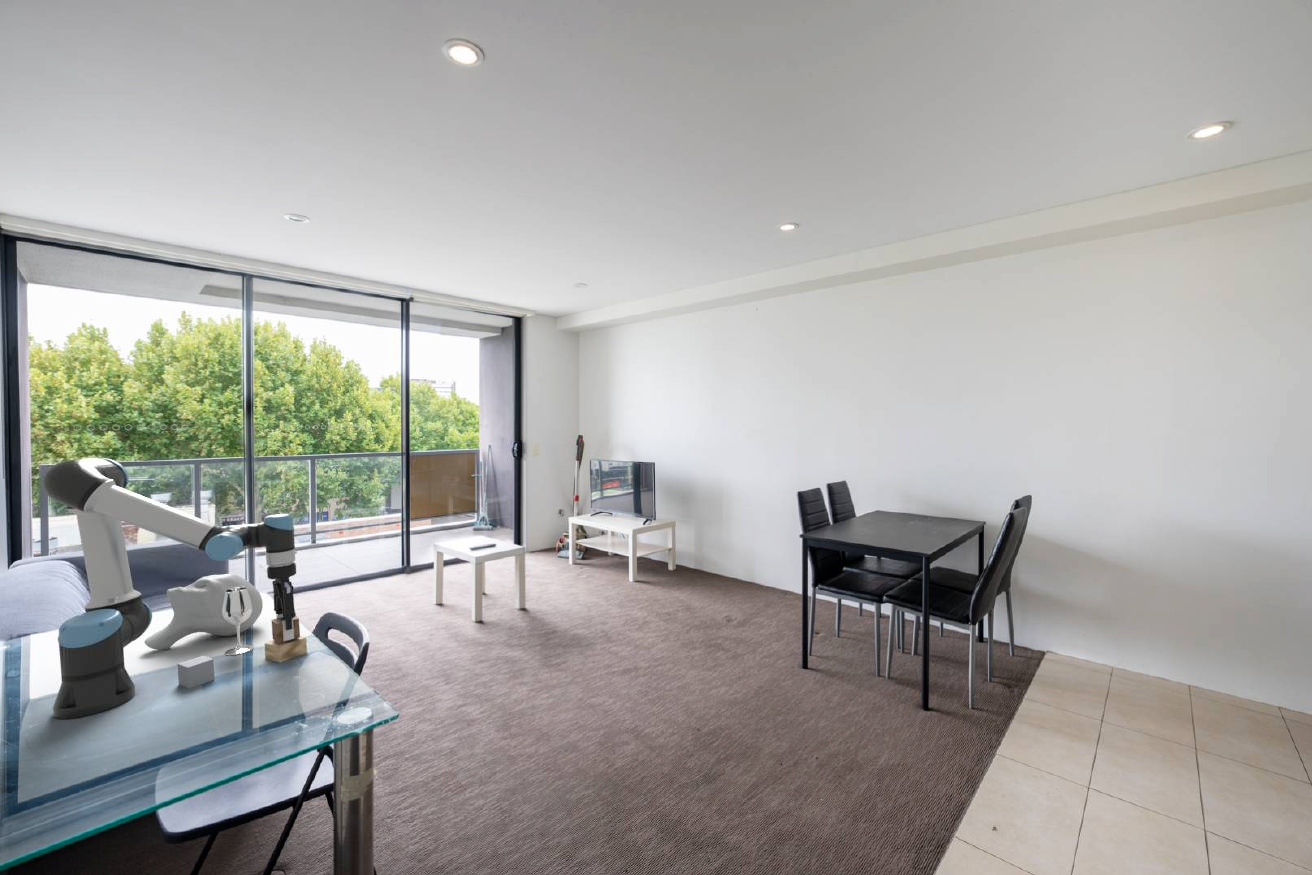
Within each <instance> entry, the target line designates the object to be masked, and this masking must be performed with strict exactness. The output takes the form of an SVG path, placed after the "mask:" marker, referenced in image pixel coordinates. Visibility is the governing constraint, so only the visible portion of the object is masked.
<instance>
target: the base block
mask: <svg viewBox="0 0 1312 875" xmlns="http://www.w3.org/2000/svg"><path fill="white" fill-rule="evenodd" d="M307 642H308V641H307V637H306V636H302V635H300V637H299V638H296V639H292V640H288V641H285V642H281V643H277V642H276V641H275V640H274V639H272V640H270V641H267V642H264V656H265V657H264V658H265V659H266V660H270V661H274V662H278V663H284V662H286V661H288V660H291V659H293V658H297V657H299V656H301V655H304V654H307V653H308V644H307Z"/></svg>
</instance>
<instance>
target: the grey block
mask: <svg viewBox="0 0 1312 875" xmlns="http://www.w3.org/2000/svg"><path fill="white" fill-rule="evenodd" d="M214 662H215V661H214V658H211V657H208V656H207V655H206V656H205V655H200V656H198V657H195V658H190V659H188V660H185V661H182V662H179V663H177V676H178V677H177V679H178V685H179V686H181V687H183V688H187V689H192V688H195V687H197V686H200V685H204V684H206V683H208V682H211V681H214V680H215V665H214Z"/></svg>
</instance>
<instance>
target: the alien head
mask: <svg viewBox="0 0 1312 875" xmlns="http://www.w3.org/2000/svg"><path fill="white" fill-rule="evenodd" d="M237 587H246V588H247V591H248V594H249V597H250V600H251V604H252V613H251V615H250V617H249V618H248V619H247V620H246V621H245V622H243V623H242V624H240V634H241V633H243V632H245V631H246V630H248V629H249V628H251V627H252V626H253V625H254V624H255V623H256V622H257V620H258V619H259V618H260V616H261V615H262V611H263V598H262V595H261V594H260V592H259V591H258V589H257V588H256V587H255V586H254V585H253V584H251V583H250V581H248V580H246V579H245V578H243V577H242V576H240V575H237V574H235V573H225V574H210V575H207V576H202V577H201V578H199V579H197V580H195V582H193V583H191V584H189V585H186V586H185V587H184V586H183V587H182V586H177V587H173V588H168V589H167V590H166V596H167V599H168V601H169V604H170V605H171V606H170V607H171V608H172V611H173V617H172V618H171V619H172V620H171V621H170V623H168V625H167V626H165V627H164V628H163V629H161V630H159V631H157V632H156V633H154V634H152V635H151V636H149V637H147V638H146V639H145V640H144V644H145V645H146V646H147V647H148V648H149V649H153V650H157V651H158V650H159V651H160V650H161V651H166V650H169V649H170V648H171V647H172V646H174V644H175V643H177V642H178V641H180V640H182V639H183V638H185V637H188V636H190V635H191V634H192V635H193V634H197V633H205V634H210V635H212V636H219V637H220V636H221V637H230V636H235V635H236V636H237V629H236V626H235V625H231V624H229V623H227V622H225V621H224V620H223V618H222V605H223V599H224V595H225V591H226V590H228V589H232V588H237Z"/></svg>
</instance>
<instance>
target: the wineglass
mask: <svg viewBox="0 0 1312 875" xmlns="http://www.w3.org/2000/svg"><path fill="white" fill-rule="evenodd" d="M251 613H252V604H251V600H250V597H249V594H248V591H247V588H246V587H237V588H232V589H228V590H226V591H225V595H224V599H223V605H222V618H223V620H224V621H225V622H227V623H229V624H231V625H235V626H236V629H237V634H236V636H237V637H236V638H237V645H236V646H234V647H232V648H229V649H227V650H226V651H225V652H224V655H226V656H236V655H241V654H245V653H248V652H250V651H252V650H253V649H254V645H251V644H246V645H243V644H242V643H241V633H240V624H242V623H243V622H245V621H246V620H247V619H248V618H249V617H250V615H251Z"/></svg>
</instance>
